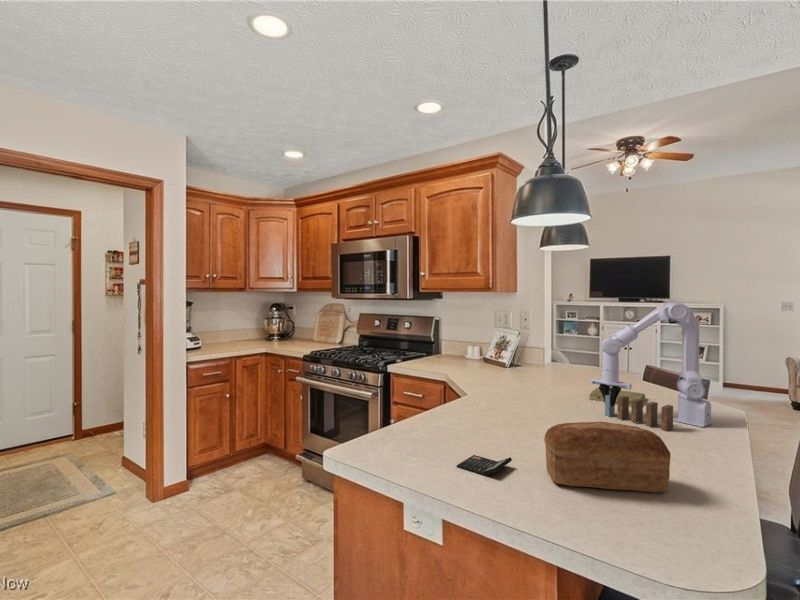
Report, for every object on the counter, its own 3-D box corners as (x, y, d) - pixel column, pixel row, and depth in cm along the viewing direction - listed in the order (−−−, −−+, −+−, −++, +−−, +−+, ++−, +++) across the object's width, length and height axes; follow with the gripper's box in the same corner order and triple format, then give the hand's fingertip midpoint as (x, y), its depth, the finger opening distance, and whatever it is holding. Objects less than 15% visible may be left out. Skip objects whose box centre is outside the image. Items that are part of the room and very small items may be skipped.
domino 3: (642, 421, 152) (642, 399, 152) (635, 423, 149) (636, 401, 149) (638, 420, 153) (638, 398, 153) (631, 422, 150) (631, 400, 150)
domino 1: (614, 414, 160) (614, 394, 160) (609, 417, 157) (609, 396, 157) (610, 413, 162) (610, 393, 161) (604, 416, 158) (605, 395, 158)
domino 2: (628, 418, 156) (628, 396, 156) (621, 420, 153) (622, 398, 153) (624, 417, 157) (624, 396, 157) (617, 419, 154) (617, 397, 154)
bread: (540, 468, 111) (541, 415, 111) (654, 476, 106) (655, 420, 106) (549, 489, 99) (549, 429, 99) (677, 499, 95) (678, 436, 94)
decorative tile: (596, 393, 197) (596, 385, 197) (645, 400, 184) (645, 392, 184) (586, 401, 182) (587, 393, 182) (639, 409, 170) (639, 400, 170)
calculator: (473, 457, 119) (473, 447, 119) (512, 468, 111) (512, 457, 111) (456, 468, 112) (456, 457, 111) (496, 480, 104) (496, 469, 104)
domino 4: (657, 424, 148) (657, 402, 148) (650, 427, 145) (651, 404, 145) (652, 423, 149) (652, 401, 149) (645, 426, 146) (646, 403, 146)
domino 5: (672, 428, 144) (673, 405, 144) (666, 431, 141) (666, 408, 141) (667, 427, 145) (668, 404, 145) (661, 430, 142) (661, 407, 142)
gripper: (634, 371, 156) (634, 407, 157) (595, 366, 167) (595, 399, 167) (627, 373, 152) (627, 410, 152) (587, 368, 162) (587, 402, 163)
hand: (609, 405), depth 159 cm, fingers closed on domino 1, 2 cm apart
